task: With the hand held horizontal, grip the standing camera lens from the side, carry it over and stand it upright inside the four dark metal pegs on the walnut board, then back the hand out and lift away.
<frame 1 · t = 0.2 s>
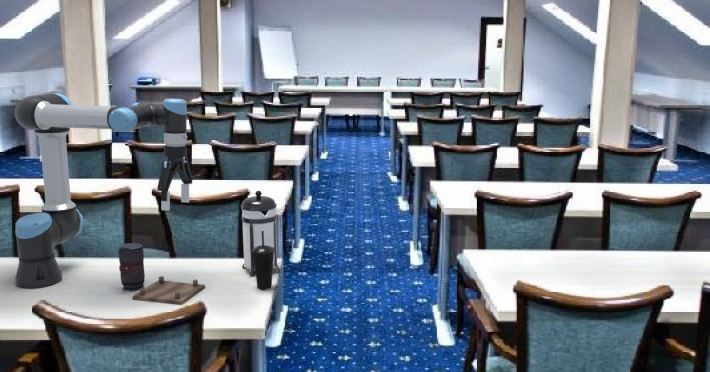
hand: (175, 206, 249), 27 cm above the table, tool pointing down, fingers open, 13 cm apart
coffee press: (259, 270, 267), on the table
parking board: (169, 293, 243), on the table
drinking cup: (264, 288, 248), on the table
camera lens: (133, 288, 249), on the table
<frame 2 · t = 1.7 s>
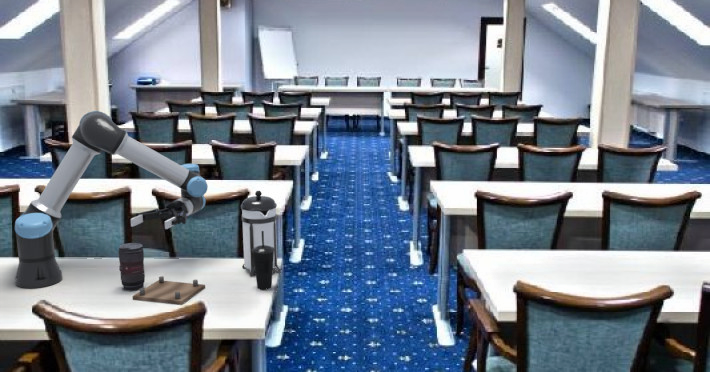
hand: (148, 224, 256), 20 cm above the table, tool horizontal, fingers open, 13 cm apart
nothing on the table moved.
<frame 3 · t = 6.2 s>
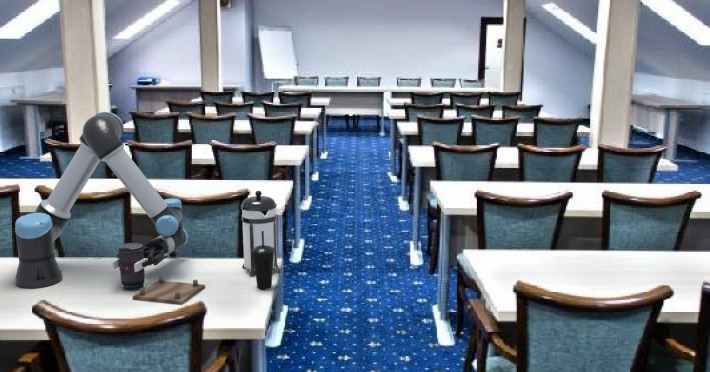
hand: (123, 266, 243), 9 cm above the table, tool horizontal, fingers closed on camera lens, 8 cm apart
camera lens: (133, 288, 249), on the table, touching gripper
everything else where it was.
when the fingers open (11 cm above the table, at t = 11.9 s): camera lens drops 1 cm, resting on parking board.
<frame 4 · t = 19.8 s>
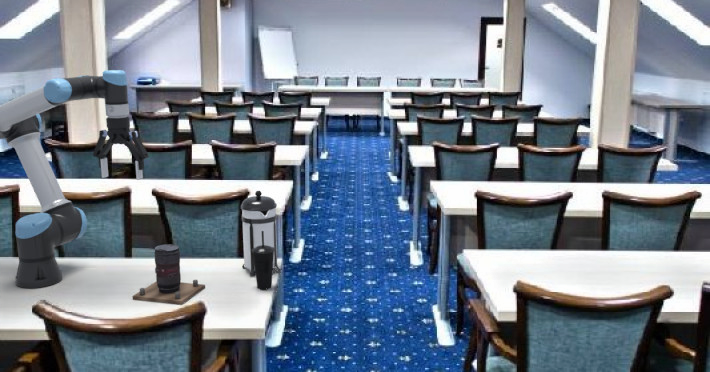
hand: (122, 178, 249), 37 cm above the table, tool pointing down, fingers open, 13 cm apart
camera lens: (169, 290, 243), point 1 cm above the table, touching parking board
everything else where it was.
at the end: camera lens inside the target area on the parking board (0.1 cm from its centre), point 1.0 cm above the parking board's base; camera lens tilted 0°; the gripper is holding nothing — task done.
